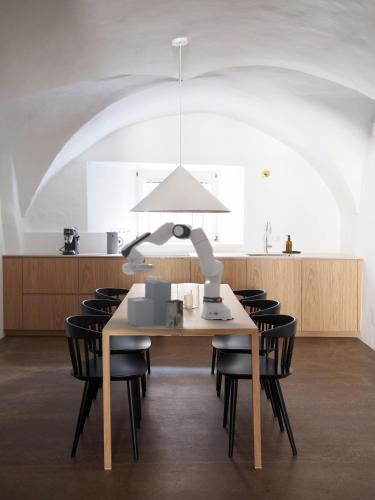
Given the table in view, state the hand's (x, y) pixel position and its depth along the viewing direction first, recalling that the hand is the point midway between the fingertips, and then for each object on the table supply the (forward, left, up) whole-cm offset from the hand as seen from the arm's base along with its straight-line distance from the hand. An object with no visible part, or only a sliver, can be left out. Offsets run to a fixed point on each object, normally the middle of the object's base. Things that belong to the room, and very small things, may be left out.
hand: (146, 266), depth 327 cm
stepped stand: (-12, +14, -34) cm, 39 cm away
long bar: (-10, +6, -8) cm, 14 cm away
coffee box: (-32, +16, -35) cm, 50 cm away
